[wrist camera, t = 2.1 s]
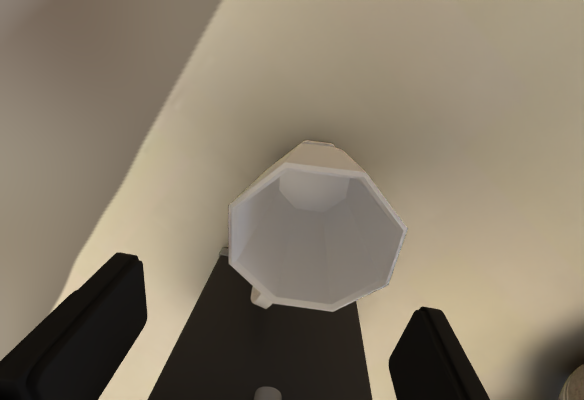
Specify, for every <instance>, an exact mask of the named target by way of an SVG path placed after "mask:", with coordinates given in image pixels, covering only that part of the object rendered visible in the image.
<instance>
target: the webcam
mask: <svg viewBox="0 0 584 400" xmlns="http://www.w3.org/2000/svg"><path fill="white" fill-rule="evenodd" d="M559 400H584V364H582V365H581V366H579V367H578V368H577V369H576V370H575V371H574V372H573V373H572V374H571V375H570V376H569V377H568V379H567V380H566V382H565V384H564V386H563V388H562V390H561V393H560V395H559Z"/></svg>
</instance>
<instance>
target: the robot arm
mask: <svg viewBox="0 0 584 400" xmlns="http://www.w3.org/2000/svg"><path fill="white" fill-rule="evenodd" d="M146 321H147V306H146V295H145V283H144V272H143V263H142V261H139V259H138V257H137V256H136V255H131V254H125V253H116V254H115V255H113V256H112V257H111V258H110V259H109V260H108V261H107V262H106V263H105V264H104V265H103V266H102V267H101V268H100V269H99V270H98V271H97V272H96V273H95V274H94V275H93V276H92V277H91V278H90V279H89V280H88V281H87V282H86V283H85V284H83V285H82V286H81V287H80V288H79V289H78V290H76V291H74V292H73V293H72V294H70V295H69V296H68V297H67V298H66V299H65V300H64V301H63V302H62V303H61V304H60V305H59V306H58V307H57V308H56V309H55V310H53V311H52V312H51V313H50V314H49V315H48V316H47V317H46V318H45V319H44V320H43V321H42V322H41V323H40V324H39V325H38V326H37V327H36V328H35V329H34V330H33V331H32V332H30V333H29V334H28V335H27V336H26V337H25V338H24V339H23V340H22V341H21V342H20V343H19V344H18V345H17V346H16V347H15V348H14V349H13V350H12V351H11V352H10V353H9V354H8V355H6V356H5V357H4V358H3V359H2V360H1V361H0V400H98V399H99V397H100V395H101V394H102V392H103V391H104V389H105V388H106V386H107V384H108V383H109V381H110V380H111V378H112V377H113V375H114V373H115V372H116V370H117V369H118V367H119V366H120V364H121V362H122V361H123V359H124V358H125V356H126V355H127V353H128V351H129V350H130V348H131V347H132V345H133V344H134V342H135V340H136V339H137V337H138V336H139V334H140V332H141V331H142V329H143V328H144V326H145V324H146ZM389 371H390V374H391V378H392V382H393V386H394V390H395V394H396V398H397V400H490V399H489V397H488V395H487V393H486V391H485V389H484V387H483V386H482V384H481V382H480V380H479V378H478V376H477V374H476V373H475V371H474V369H473V367H472V365H471V363H470V361H469V360H468V358H467V356H466V354H465V352H464V350H463V348H462V346H461V345H460V343H459V341H458V339H457V337H456V335H455V333H454V332H453V330H452V328H451V326H450V324H449V322H448V320H447V319H446V317H445V315H444V313H443V312H442V311H441V310H439V309H434V308H428V307H421V308H420V309H419V310H416V311H415V312H414V313H413V315H412V317H411V319H410V321H409V323H408V325H407V327H406V328H405V330H404V332H403V334H402V336H401V338H400V340H399V341H398V343H397V345H396V347H395V349H394V351H393V353H392V355H391V356H390V359H389Z"/></svg>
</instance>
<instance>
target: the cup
mask: <svg viewBox="0 0 584 400" xmlns="http://www.w3.org/2000/svg"><path fill="white" fill-rule="evenodd" d="M407 230H408V228H407V227H406V226H405V224H404V223H403V222H402V220H401V219H400V217H399V216H398V215H397V213H396V212H395V211H394V209H393V208H392V207H391V205H390V204H389V202H388V201H387V200H386V198H385V197H384V196H383V194H382V193H381V192H380V190H379V189H378V187H377V186H376V185H375V183H374V182H373V181H372V179H371V178H370V177H369V175H368V174H367V173H366V172H365V171H364V170H363V169H362V168H361V167H360V166H359V165H358V164H357V163H356V162H355V161H354V160H352V159H351V158H350V157H349V156H348V155H347V154H346V153H345V152H344V151H343V150H342V149H338V148H336V147H335V146H334V145H333V143H326V142H317V141H309V140H304V141H303V142H302V143H301V144H299V145H298V146H296V147H295V148H294V149H293V150H291V151H290V152H289V153H287V154H286V155H285V156H283V157H282V158H281V159H280V160H278V161H277V162H276V163H274V164H273V165H272V166H271V167H269V168H268V169H267V170H266V171H265V172H264V173H263V174H262V175H261V176H260V177H258V178H257V179H256V180H255V181H254V182H253V183H252V184H251V185H250V186H249V187H248V188H247V189H246V190H244V191H243V192H242V193H241V194H240V195H239V196H238V197H237V198H236V199H235V200H234V201H233V202H232V203H231V204H229V205H228V233H229V264H230V265H231V266H232V267H233V268H234V269H235V270H236V271H237V272H238V273H239V274H241V275H242V276H243V277H244V278H245V279H246V280H247V281H248V282H249V283H250V284H251V285H252V286H253V287H252V293H251V301H252V303H253V304H256V305H258V306H260V307H262V308H265V309H267V308H268V307H269V306H271V305H272V303H273V304H280V305H287V306H295V307H302V308H309V309H316V310H324V311H331V312H334V311H336V310H338V309H340V308H342V307H344V306H346V305H348V304H350V303H352V302H354V301H356V300H358V299H360V298H362V297H365V296H367V295H369V294H371V293H373V292H375V291H377V290H379V289H381V288H383V287H385V286H387V285H388V284H389V281H390V278H391V276H392V273H393V270H394V267H395V264H396V261H397V258H398V255H399V253H400V250H401V247H402V244H403V241H404V238H405V235H406V232H407Z"/></svg>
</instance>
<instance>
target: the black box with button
mask: <svg viewBox="0 0 584 400" xmlns="http://www.w3.org/2000/svg"><path fill="white" fill-rule="evenodd" d="M252 287H253V286H252V285H251V284H250V283H249V282H248V281H247V280H246V279H245V278H244V277H243V276H242V275H241V274H239V273H238V272H237V271H236V270H235V269H234V268H233V267H232V266H231V265H230V264H229V249H228V248H222V249H221V251H220V253H219V259H218V261H217V263H216V265H215V267H214V269H213V271H212V273H211V275H210V277H209V279H208V281H207V283H206V285H205V287H204V289H203V291H202V293H201V295H200V297H199V299H198V301H197V303H196V305H195V307H194V309H193V311H192V313H191V315H190V317H189V319H188V321H187V323H186V325H185V326H184V328H183V330H182V332H181V334H180V336H179V338H178V340H177V342H176V344H175V346H174V348H173V350H172V352H171V354H170V356H169V358H168V360H167V362H166V364H165V366H164V368H163V370H162V372H161V374H160V376H159V378H158V380H157V382H156V384H155V386H154V388H153V390H152V392H151V394H150V396H149V398H148V400H372V395H371V389H370V383H369V377H368V371H367V364H366V358H365V352H364V346H363V340H362V334H361V328H360V322H359V316H358V310H357V304H356V301H354V302H352V303H350V304H348V305H346V306H344V307H342V308H340V309H338V310H336V311H334V312H331V311H324V310H316V309H309V308H302V307H295V306H287V305H280V304H273V303H272V305H271V306H269V307H268V308H267V309H265V308H262V307H260V306H258V305H256V304H253V303H252V301H251V293H252Z"/></svg>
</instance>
